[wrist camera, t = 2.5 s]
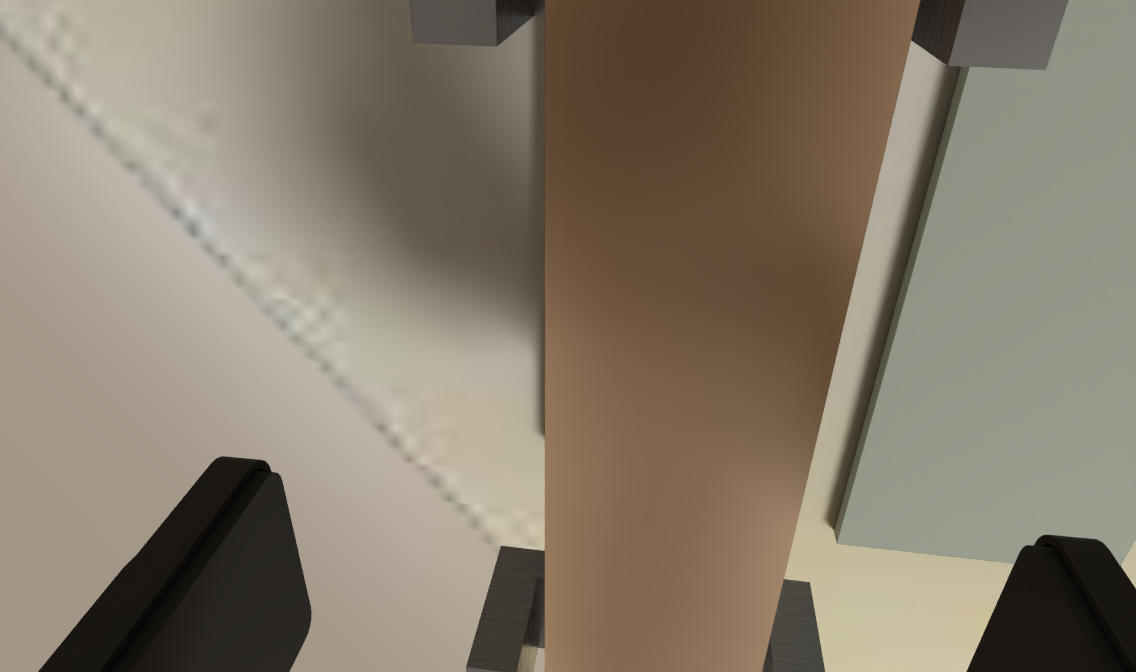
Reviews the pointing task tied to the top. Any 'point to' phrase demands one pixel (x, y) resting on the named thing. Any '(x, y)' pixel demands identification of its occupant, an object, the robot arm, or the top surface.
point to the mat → (1015, 317)
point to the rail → (696, 306)
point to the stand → (794, 658)
